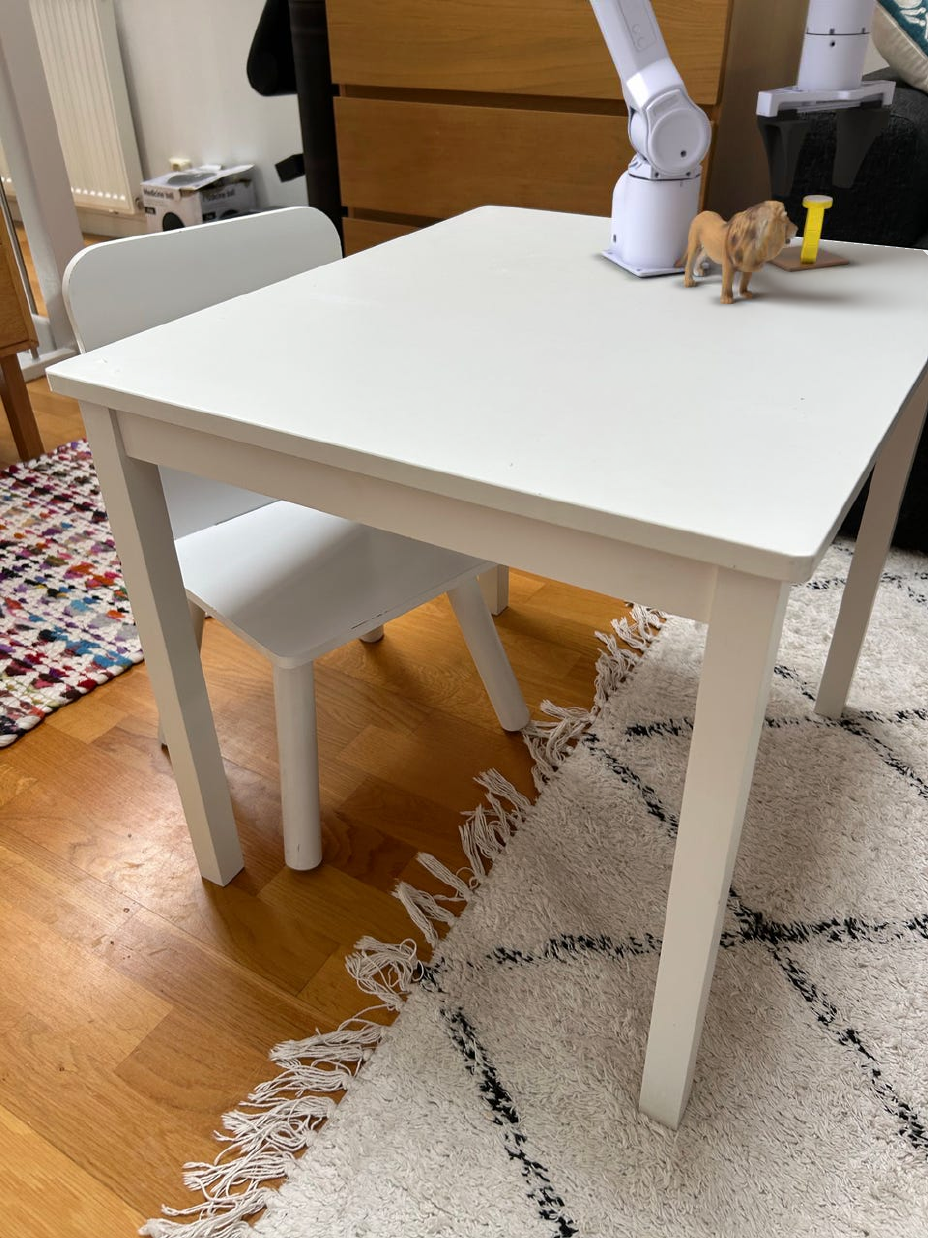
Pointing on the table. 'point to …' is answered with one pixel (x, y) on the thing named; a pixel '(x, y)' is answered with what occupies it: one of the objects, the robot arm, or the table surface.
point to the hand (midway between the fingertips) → (811, 190)
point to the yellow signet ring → (813, 225)
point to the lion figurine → (737, 244)
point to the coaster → (792, 261)
